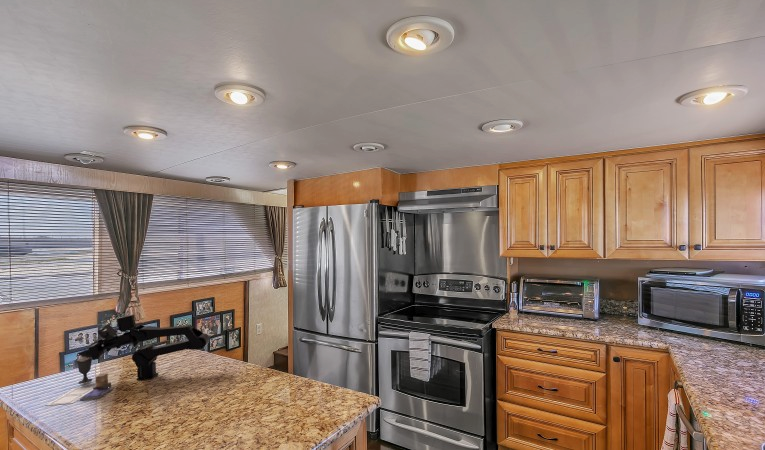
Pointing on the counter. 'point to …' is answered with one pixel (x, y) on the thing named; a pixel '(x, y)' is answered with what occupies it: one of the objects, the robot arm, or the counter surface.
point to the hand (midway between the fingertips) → (85, 349)
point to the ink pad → (95, 394)
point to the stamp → (102, 381)
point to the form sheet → (71, 396)
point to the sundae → (84, 367)
